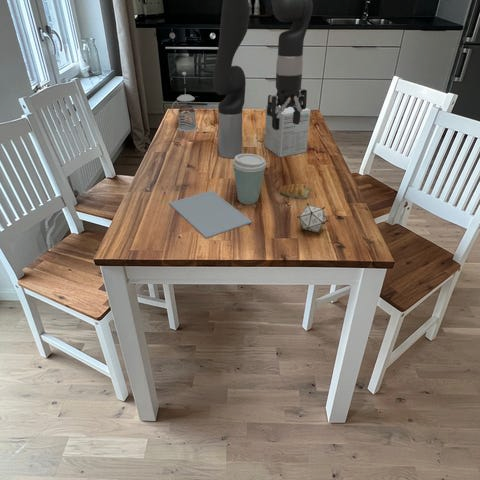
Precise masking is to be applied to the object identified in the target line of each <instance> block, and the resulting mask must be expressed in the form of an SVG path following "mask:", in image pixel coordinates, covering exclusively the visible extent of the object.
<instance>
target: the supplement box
mask: <svg viewBox="0 0 480 480" xmlns="http://www.w3.org/2000/svg"><path fill="white" fill-rule="evenodd" d="M267 105H268V104H267ZM267 105H265V130H264V131H265V132H264V147H265V148H266V149H268V150H270V152H272V153H274V154H275V155H276V156H278V157H279V158H283V157H288V156H292V155H293V156H294V155H299V154H303V153H307V148H308V140H309V139H308V138H309V133H310V132H309V131H310V120H311V112H312V110H311V109H310V108H307V107H306V109H303V110H302V112H301V114H300V122H299V124H297V125H296V124H293V112H294V109H293V108H292V107H288V108H285V110H284V111H283V112H282V113H281V115H280V117H279V118H280V124H279V130H275V129H273V128H272V117H271V116H268V115H267ZM279 107H281V106H280V105H279ZM271 111H272V109H271ZM277 112H278V111H277ZM277 112H276V113H277Z"/></svg>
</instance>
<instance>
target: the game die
mask: <svg viewBox="0 0 480 480" xmlns="http://www.w3.org/2000/svg"><path fill="white" fill-rule="evenodd" d="M306 205H307V206H306V207H305V208H304V210H303V211H302V212H301V214H300V215H298V216H296V218H297V219H299V221H300V224H301V227H302V228H301V231H304V230H306V231H310V232H313V233H316V234H317V235H318V236H320V233H319V232H320V230H321V229H322V228H323V226H324V225H325V224H326V223H328V222H329V219H327V217H326V214H325V211H324V210H325V208H326V207H325V206H323V207H318V206H313V205H309V202H306Z"/></svg>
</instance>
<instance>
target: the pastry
mask: <svg viewBox="0 0 480 480" xmlns="http://www.w3.org/2000/svg"><path fill="white" fill-rule="evenodd" d="M279 190H280V193H281V195H283V196H286V197H289V198H291V199H292V198H293V199H299V200H306V199H308V194H309V192H310V191H309V185H308V184H307V183H306V184H303V183H295V184H294V183H292V184H288V185H283V186H282V187H281V188H280V189H279Z"/></svg>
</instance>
